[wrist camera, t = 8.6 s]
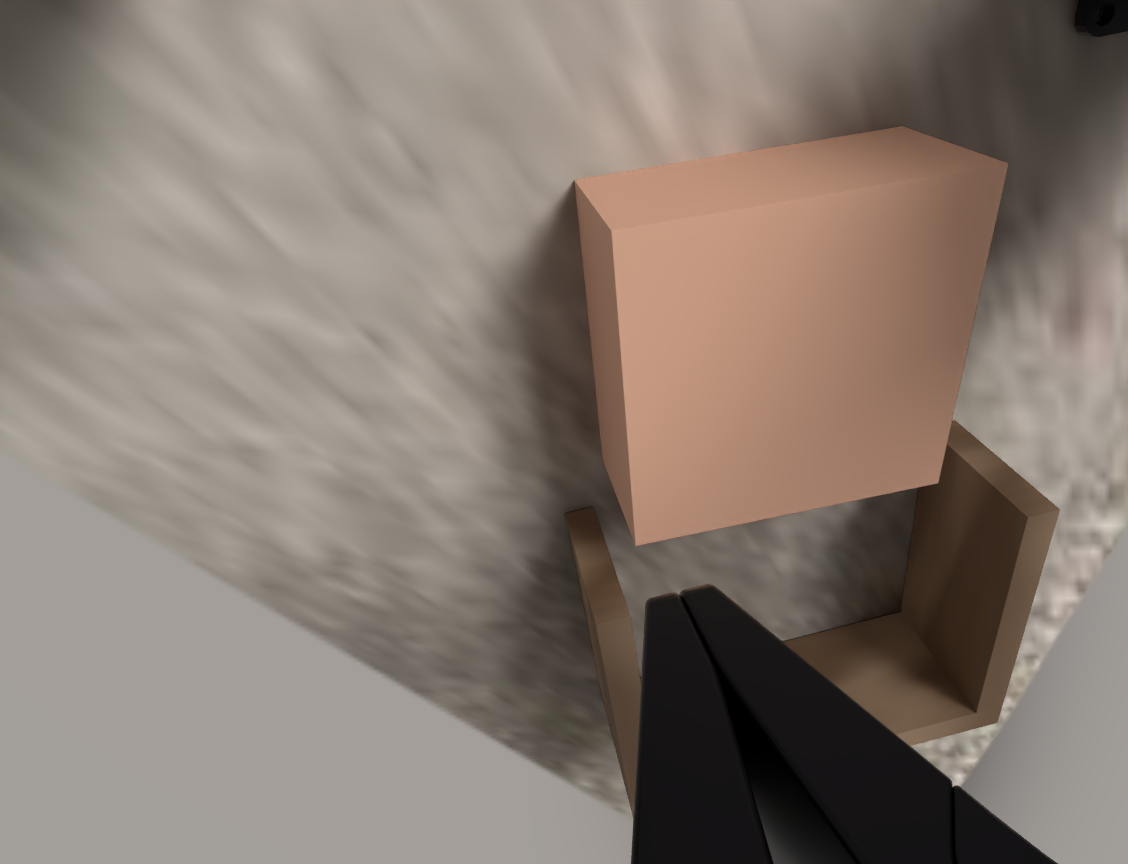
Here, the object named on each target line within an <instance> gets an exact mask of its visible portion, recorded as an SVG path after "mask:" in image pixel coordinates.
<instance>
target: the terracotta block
mask: <svg viewBox="0 0 1128 864" xmlns="http://www.w3.org/2000/svg"><path fill="white" fill-rule="evenodd" d="M1008 164H1009V163H1006V162H1003V161H1000V160H998V159H995V158H992V157H989V156H986V155H983V154H980V153H978V152H975V151H972V150H969V149H966V148H963V147H960V146H958V145H955V144H952V143H949V142H946V141H943V140H940V139H938V138H935V137H932V136H929V135H926V134H923V133H920V132H918V131H915V130H912V129H909V128H906V127H903V126H901V127H894V128H888V129H882V130H876V131H870V132H864V133H858V134H852V135H846V136H839V137H833V138H827V139H821V140H815V141H809V142H803V143H797V144H791V145H784V146H778V147H772V148H766V149H760V150H754V151H748V152H742V153H736V154H730V155H723V156H717V157H711V158H705V159H699V160H693V161H687V162H681V163H675V164H668V165H662V166H656V167H650V168H644V169H638V170H632V171H626V172H620V173H613V174H607V175H601V176H595V177H589V178H583V179H577V180H574V182H575V192H576V202H577V211H578V221H579V231H580V241H581V251H582V260H583V270H584V280H585V290H586V300H587V310H588V319H589V329H590V339H591V349H592V359H593V369H594V378H595V388H596V398H597V408H598V418H599V428H600V437H601V447H602V457H603V462H604V465H605V467H606V470H607V472H608V475H609V478H610V480H611V483H612V485H613V488H614V491H615V493H616V496H617V499H618V501H619V504H620V506H621V509H622V512H623V514H624V517H625V519H626V522H627V525H628V527H629V530H630V533H631V535H632V538H633V540H634V543H635V546H638V545H643V544H647V543H652V542H657V541H662V540H667V539H672V538H676V537H681V536H686V535H691V534H696V533H701V532H705V531H710V530H715V529H720V528H725V527H729V526H734V525H739V524H744V523H749V522H754V521H758V520H763V519H768V518H773V517H778V516H783V515H787V514H792V513H797V512H802V511H807V510H811V509H816V508H821V507H826V506H831V505H836V504H840V503H845V502H850V501H855V500H860V499H865V498H869V497H874V496H879V495H884V494H889V493H893V492H898V491H903V490H908V489H913V488H918V487H922V486H927V485H932V484H937V483H938V482H939V477H940V473H941V468H942V464H943V459H944V454H945V450H946V445H947V441H948V436H949V432H950V427H951V423H952V418H953V414H954V409H955V405H956V400H957V395H958V391H959V386H960V382H961V377H962V373H963V368H964V364H965V359H966V355H967V350H968V346H969V341H970V336H971V332H972V327H973V323H974V318H975V314H976V309H977V305H978V300H979V296H980V291H981V287H982V282H983V277H984V273H985V268H986V264H987V259H988V255H989V250H990V246H991V241H992V237H993V232H994V227H995V223H996V218H997V214H998V209H999V205H1000V200H1001V196H1002V191H1003V187H1004V182H1005V178H1006V173H1007V168H1008Z"/></svg>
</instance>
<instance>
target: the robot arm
mask: <svg viewBox="0 0 1128 864" xmlns="http://www.w3.org/2000/svg"><path fill="white" fill-rule="evenodd" d="M1102 6H1103V8H1102V14H1101V16H1100V18H1099V19H1098V20H1097V21H1096V14H1097V12H1098V10H1099V9H1100V8H1101V7H1102ZM1074 26H1075V28H1076V31H1077V32H1078V33H1079V34H1081V35H1085V36H1093V37H1101V36H1106V35H1111V34H1116V33H1121V32H1125V31H1128V0H1078V4H1077V9H1076V14H1075V23H1074ZM632 839H633V840H632V856H631V864H1058V863H1056V862H1055V861H1053V860H1052V859H1050V858H1049V857H1048V856H1046V855H1045V854H1044V853H1042V852H1041V851H1040V850H1039V849H1037V848H1036V847H1035V846H1033V845H1032V844H1031V843H1030V842H1028V841H1027V840H1026V839H1024V838H1023V837H1022V836H1021V835H1019V834H1018V833H1017V832H1015V831H1014V830H1013V829H1012V828H1010V827H1009V826H1008V825H1007V824H1005V823H1004V822H1003V821H1001V820H1000V819H999V818H998V817H996V816H995V815H994V814H992V813H991V812H990V811H989V810H988V809H986V808H985V807H984V806H983V805H981V804H980V803H979V802H978V801H977V800H975V799H974V798H973V797H972V796H971V795H969V794H968V793H967V792H966V791H965V790H963V789H962V788H961V787H960V786H954V787H953V788H952V781H951V780H950V778H948V777H947V776H946V775H945V774H943V773H942V772H941V771H940V770H939V769H937V768H936V767H935V766H934V765H932V764H931V763H930V762H929V761H928V760H926V759H925V758H924V757H923V756H921V755H920V754H919V753H918V752H917V751H915V750H914V749H913V748H912V747H910V746H909V745H908V744H907V743H906V742H904V741H903V740H902V739H901V738H899V737H898V736H897V735H896V734H895V733H893V732H892V731H891V730H890V729H888V728H887V727H886V726H885V725H884V724H882V723H881V722H880V721H879V720H877V719H876V718H875V717H874V716H873V715H871V714H870V713H869V712H868V711H867V710H865V709H864V708H863V707H862V706H860V705H859V704H858V703H857V702H856V701H854V700H853V699H852V698H851V697H849V696H848V695H847V694H846V693H845V692H843V691H842V690H841V689H840V688H838V687H837V686H836V685H835V684H834V683H832V682H831V681H830V680H829V679H827V678H826V677H825V676H824V675H823V674H821V673H820V672H819V671H818V670H816V669H815V668H814V667H813V666H812V665H810V664H809V663H808V662H807V661H805V660H804V659H803V658H802V657H801V656H799V655H798V654H797V653H796V652H794V651H793V650H792V649H791V648H790V647H788V646H787V645H786V644H785V643H783V642H782V641H781V640H780V639H779V638H777V637H776V636H775V635H774V634H772V633H771V632H770V631H769V630H768V629H766V628H765V627H764V626H763V625H761V624H760V623H759V622H758V621H757V620H755V619H754V618H753V617H752V616H750V615H749V614H748V613H747V612H746V611H744V610H743V609H742V608H741V607H739V606H738V605H737V604H736V603H735V602H733V601H732V600H731V599H730V598H729V597H727V596H726V595H725V594H724V593H722V592H721V591H720V590H719V589H718V588H716V587H715V586H713V585H710V584H706V585H702V586H698V587H693V588H689V589H685V590H683V591H682V592H681V593H680V595H678V594H677V593H669V594H665V595H661V596H657V597H653V598H650V599H648V600H647V602H646V607H645V623H644V641H643V659H642V677H641V695H640V713H639V730H638V748H637V766H636V784H635V802H634V820H633V838H632Z"/></svg>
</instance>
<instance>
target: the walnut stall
mask: <svg viewBox="0 0 1128 864" xmlns="http://www.w3.org/2000/svg"><path fill="white" fill-rule="evenodd" d="M1059 511H1060V509H1059V508H1058V507H1056V506H1055V505H1054V504H1053V503H1052V502H1050V501H1049V500H1048V499H1047V498H1046V497H1045V496H1043V495H1042V494H1041V493H1040V492H1039V491H1038V490H1036V489H1035V488H1034V487H1033V486H1032V485H1030V484H1029V483H1028V482H1027V481H1026V480H1025V479H1023V478H1022V477H1021V476H1020V475H1019V474H1018V473H1016V472H1015V471H1014V470H1013V469H1012V468H1010V467H1009V466H1008V465H1007V464H1006V463H1005V462H1003V461H1002V460H1001V459H1000V458H999V457H998V456H996V455H995V454H994V453H993V452H992V451H990V450H989V449H988V448H987V447H986V446H985V445H983V444H982V443H981V442H980V441H979V440H978V439H976V438H975V437H974V436H973V435H972V434H970V433H969V432H968V431H967V430H966V429H965V428H963V427H962V426H961V425H960V424H959V423H958V422H956V421H952V423H951V427H950V432H949V436H948V441H947V445H946V450H945V454H944V459H943V464H942V468H941V473H940V477H939V482H938V483H937V484H932V485H927V486H922V487H919V491H918V498H917V504H916V511H915V518H914V524H913V531H912V538H911V545H910V551H909V558H908V565H907V571H906V578H905V585H904V591H903V598H902V605H901V612H898V613H894V614H890V615H886V616H883V617H879V618H875V619H871V620H867V621H863V622H859V623H855V624H851V625H847V626H843V627H839V628H835V629H831V630H827V631H823V632H820V633H816V634H812V635H808V636H804V637H800V638H796V639H792V640H788V641H784V642H783V643H785V644H786V645H787V646H788V647H790V648H791V649H792V650H793V651H794V652H796V653H797V654H798V655H799V656H801V657H802V658H803V659H804V660H805V661H807V662H808V663H809V664H810V665H812V666H813V667H814V668H815V669H816V670H818V671H819V672H820V673H821V674H823V675H824V676H825V677H826V678H827V679H829V680H830V681H831V682H832V683H834V684H835V685H836V686H837V687H838V688H840V689H841V690H842V691H843V692H845V693H846V694H847V695H848V696H849V697H851V698H852V699H853V700H854V701H856V702H857V703H858V704H859V705H860V706H862V707H863V708H864V709H865V710H867V711H868V712H869V713H870V714H871V715H873V716H874V717H875V718H876V719H877V720H879V721H880V722H881V723H882V724H884V725H885V726H886V727H887V728H888V729H890V730H891V731H892V732H893V733H895V734H896V735H897V736H898V737H899V738H901V739H902V740H903V741H904V742H906V743H907V744H908V745H909V746H911V745H915V744H919V743H923V742H926V741H930V740H934V739H938V738H941V737H945V736H949V735H953V734H956V733H960V732H964V731H968V730H971V729H975V728H979V727H983V726H987V725H990V724H994V723H997V722H998V719H999V715H1000V712H1001V708H1002V705H1003V702H1004V698H1005V695H1006V691H1007V688H1008V685H1009V681H1010V678H1011V674H1012V671H1013V668H1014V664H1015V661H1016V657H1017V654H1018V651H1019V647H1020V644H1021V640H1022V637H1023V634H1024V630H1025V627H1026V623H1027V620H1028V617H1029V613H1030V610H1031V606H1032V603H1033V600H1034V596H1035V593H1036V589H1037V586H1038V583H1039V579H1040V576H1041V572H1042V569H1043V566H1044V562H1045V559H1046V555H1047V552H1048V549H1049V545H1050V542H1051V538H1052V535H1053V532H1054V528H1055V525H1056V521H1057V518H1058V515H1059ZM565 517H566V522H567V527H568V532H569V537H570V542H571V547H572V552H573V556H574V561H575V566H576V571H577V576H578V581H579V586H580V591H581V596H582V600H583V605H584V610H585V615H586V620H587V625H588V630H589V635H590V640H591V645H592V649H593V654H594V659H595V664H596V669H597V674H598V679H599V684H600V689H601V693H602V698H603V703H604V707H605V711H606V715H607V718H608V722H609V726H610V730H611V734H612V738H613V741H614V745H615V749H616V753H617V757H618V761H619V764H620V768H621V772H622V776H623V780H624V784H625V787H626V791H627V795H628V799H629V803H630V807H631V810H632V814H633V818H634V802H635V784H636V766H637V748H638V730H639V713H640V695H641V678H640V676H639V669H638V663H637V656H636V650H635V643H634V637H633V630H632V624H631V617H630V614H629V611H628V608H627V605H626V602H625V599H624V596H623V593H622V590H621V587H620V584H619V581H618V578H617V575H616V572H615V569H614V566H613V563H612V560H611V557H610V554H609V551H608V548H607V545H606V542H605V539H604V537H603V534H602V531H601V528H600V525H599V522H598V519H597V516H596V513H595V510H594V507H590V508H586V509H582V510H578V511H573V512H569V513H565Z"/></svg>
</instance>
